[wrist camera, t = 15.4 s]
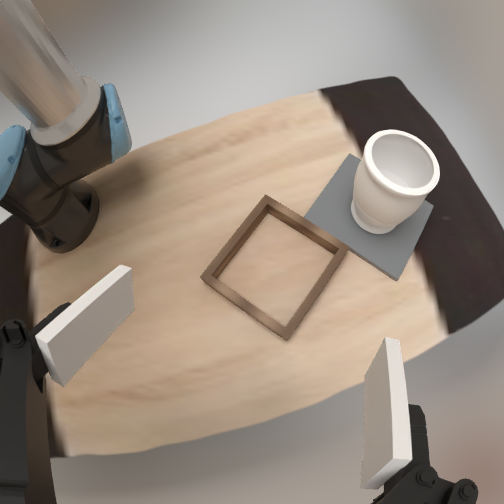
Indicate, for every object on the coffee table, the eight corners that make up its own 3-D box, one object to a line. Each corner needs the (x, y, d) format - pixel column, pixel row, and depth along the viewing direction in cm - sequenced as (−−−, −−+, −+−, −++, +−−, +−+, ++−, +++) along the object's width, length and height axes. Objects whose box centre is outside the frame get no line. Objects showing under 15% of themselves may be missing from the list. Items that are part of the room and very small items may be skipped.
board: (302, 220, 51) (303, 217, 50) (348, 156, 55) (349, 153, 54) (395, 281, 47) (398, 279, 46) (431, 208, 50) (433, 205, 49)
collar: (204, 282, 49) (199, 276, 46) (266, 203, 53) (265, 194, 50) (286, 341, 45) (287, 339, 42) (345, 253, 49) (349, 246, 46)
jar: (403, 191, 51) (435, 139, 37) (403, 245, 47) (443, 202, 33) (346, 180, 52) (364, 121, 38) (341, 234, 49) (363, 185, 35)
